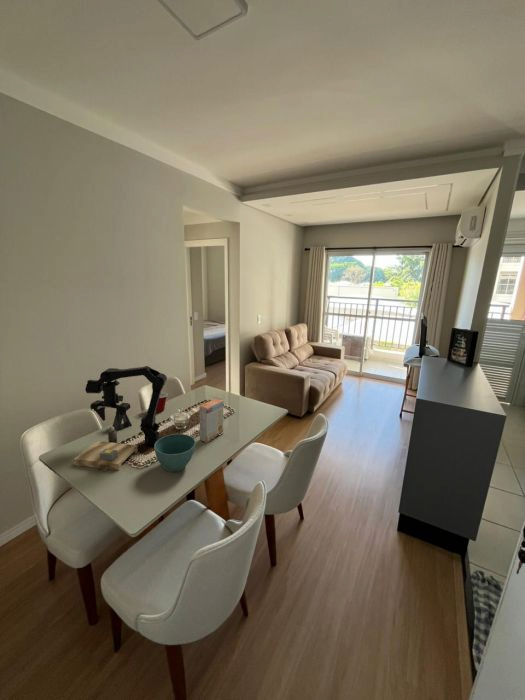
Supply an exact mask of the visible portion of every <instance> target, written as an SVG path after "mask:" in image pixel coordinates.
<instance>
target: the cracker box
mask: <svg viewBox="0 0 525 700" xmlns="http://www.w3.org/2000/svg"><path fill="white" fill-rule="evenodd" d="M198 408H199V410H198V411H199V441H201V440H202V442H203V441H204V443H206V444H207V442H208V443H209V442H211V441H212V440H211V439H213V438H214V437H216V436H218V435H219V434H221V433H222V432H223V433H224V400H221V399H218V398H215V399H213V400H210V401H207V402H206V403H203V404H201V405H199V407H198ZM221 435H222V434H221ZM219 436H220V435H219ZM219 436H218V437H219ZM216 438H217V437H216ZM214 439H215V438H214ZM214 439H213V440H214ZM210 440H211V441H210Z"/></svg>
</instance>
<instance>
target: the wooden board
mask: <svg viewBox="0 0 525 700" xmlns="http://www.w3.org/2000/svg"><path fill="white" fill-rule="evenodd" d="M105 449H111V450H117V455H118V456H117V457H116V458H115V459H114V460H113V461H110V460H101V459H100V453H101V452H102V451H103V450H105ZM137 453H138V445H137V444H127V443H118V442H117V443H110V442H109V441H108V442H107V441H101V440H97V441H95V442H94V443H93V444H91V445H90V446H88V447H87V448H86V449H85V450H84V451H82V452H80V454H78V455H77V456H75V458H73V462H74V466H79V467H88V468H89V467H90V468H98V471H102V472H108V471H109V470H113V471H120V470H121V469H122V466H123V465H122V464H123V463H124V462H125V461H126V460H127V458H129V457H130V456H131V455H132V454H137Z"/></svg>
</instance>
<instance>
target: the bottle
mask: <svg viewBox="0 0 525 700" xmlns="http://www.w3.org/2000/svg"><path fill="white" fill-rule="evenodd" d="M107 439H108V442H110V443H118V431H116V430H115V429H114V427H112V426H110V427H109V431H107Z"/></svg>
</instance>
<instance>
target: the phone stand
mask: <svg viewBox="0 0 525 700" xmlns="http://www.w3.org/2000/svg"><path fill="white" fill-rule="evenodd" d="M115 410H116V411H115V413H116V412H117V408H115ZM122 422H123V423H122ZM112 423H113V424H112V426H111V427H114V430H116V431H117V432H119V431H122V430H125V429H128V428H130V427H132V426H133V425H132V422H131V421H130V418H129V417H128V414H127V411H126V412H123V414H122V417H121V420H120V422H118V421H117V416H116V414H115V416H114V420H113V422H112Z"/></svg>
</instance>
